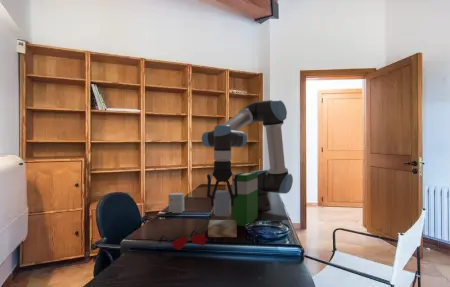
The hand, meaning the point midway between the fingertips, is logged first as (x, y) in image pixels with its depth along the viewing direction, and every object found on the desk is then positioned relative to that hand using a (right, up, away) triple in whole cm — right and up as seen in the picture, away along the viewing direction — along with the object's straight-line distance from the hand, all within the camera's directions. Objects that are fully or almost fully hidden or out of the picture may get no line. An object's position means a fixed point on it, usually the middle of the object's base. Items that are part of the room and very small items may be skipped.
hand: (222, 213), depth 129 cm
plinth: (0, -8, 0) cm, 8 cm away
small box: (-26, -9, +39) cm, 48 cm away
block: (0, 0, 0) cm, 0 cm away
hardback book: (+11, -9, +19) cm, 24 cm away
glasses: (-15, -9, -12) cm, 21 cm away
